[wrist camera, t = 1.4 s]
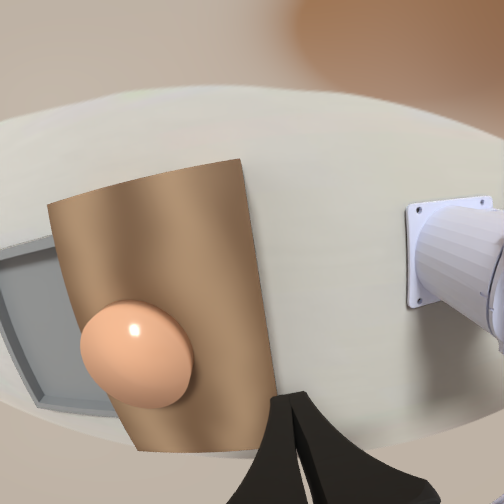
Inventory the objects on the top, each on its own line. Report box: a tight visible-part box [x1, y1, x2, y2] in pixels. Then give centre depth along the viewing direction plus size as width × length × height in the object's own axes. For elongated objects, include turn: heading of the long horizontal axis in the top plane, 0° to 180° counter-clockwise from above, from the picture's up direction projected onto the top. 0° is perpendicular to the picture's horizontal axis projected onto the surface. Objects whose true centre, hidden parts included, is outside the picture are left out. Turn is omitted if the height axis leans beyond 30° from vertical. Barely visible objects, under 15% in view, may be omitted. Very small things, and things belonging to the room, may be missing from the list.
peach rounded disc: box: [80, 299, 194, 409], centre depth 16 cm, size 7×7×2 cm
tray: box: [0, 235, 119, 418], centre depth 20 cm, size 12×16×2 cm
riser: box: [47, 159, 277, 453], centre depth 19 cm, size 12×20×4 cm, turn 9°
